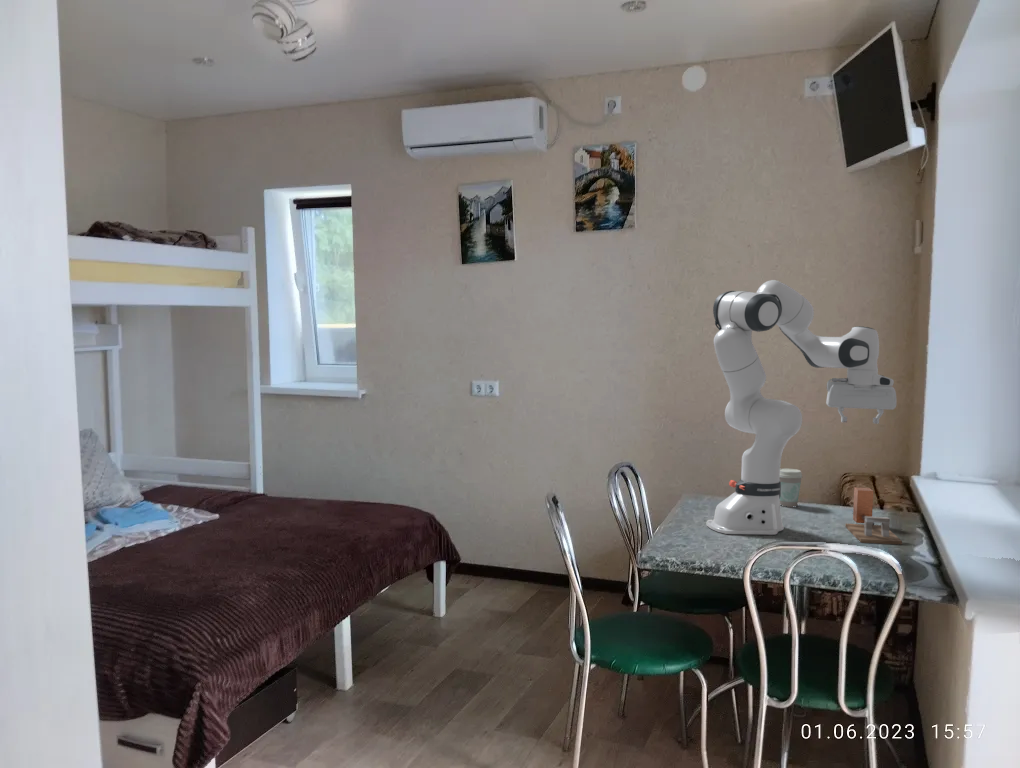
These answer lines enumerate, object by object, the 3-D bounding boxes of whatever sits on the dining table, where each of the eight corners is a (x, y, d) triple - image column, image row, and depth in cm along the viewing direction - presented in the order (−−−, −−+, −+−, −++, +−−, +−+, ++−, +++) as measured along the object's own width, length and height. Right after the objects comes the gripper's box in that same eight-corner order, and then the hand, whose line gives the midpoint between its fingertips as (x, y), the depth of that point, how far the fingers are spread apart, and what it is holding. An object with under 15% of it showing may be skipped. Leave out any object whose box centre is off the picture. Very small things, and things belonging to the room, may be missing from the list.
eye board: (845, 526, 248) (846, 506, 248) (883, 528, 246) (884, 508, 246) (860, 542, 231) (861, 520, 230) (902, 544, 229) (903, 522, 228)
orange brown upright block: (852, 519, 253) (854, 487, 252) (868, 520, 252) (869, 488, 251) (863, 529, 241) (864, 495, 240) (879, 530, 240) (880, 496, 239)
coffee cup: (772, 506, 275) (773, 471, 274) (777, 501, 282) (778, 467, 282) (799, 509, 271) (800, 473, 270) (803, 504, 278) (804, 469, 278)
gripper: (829, 378, 255) (827, 422, 255) (899, 380, 251) (896, 425, 252) (825, 377, 261) (822, 420, 262) (893, 379, 257) (891, 423, 258)
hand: (859, 422), depth 257 cm, fingers open, 8 cm apart
